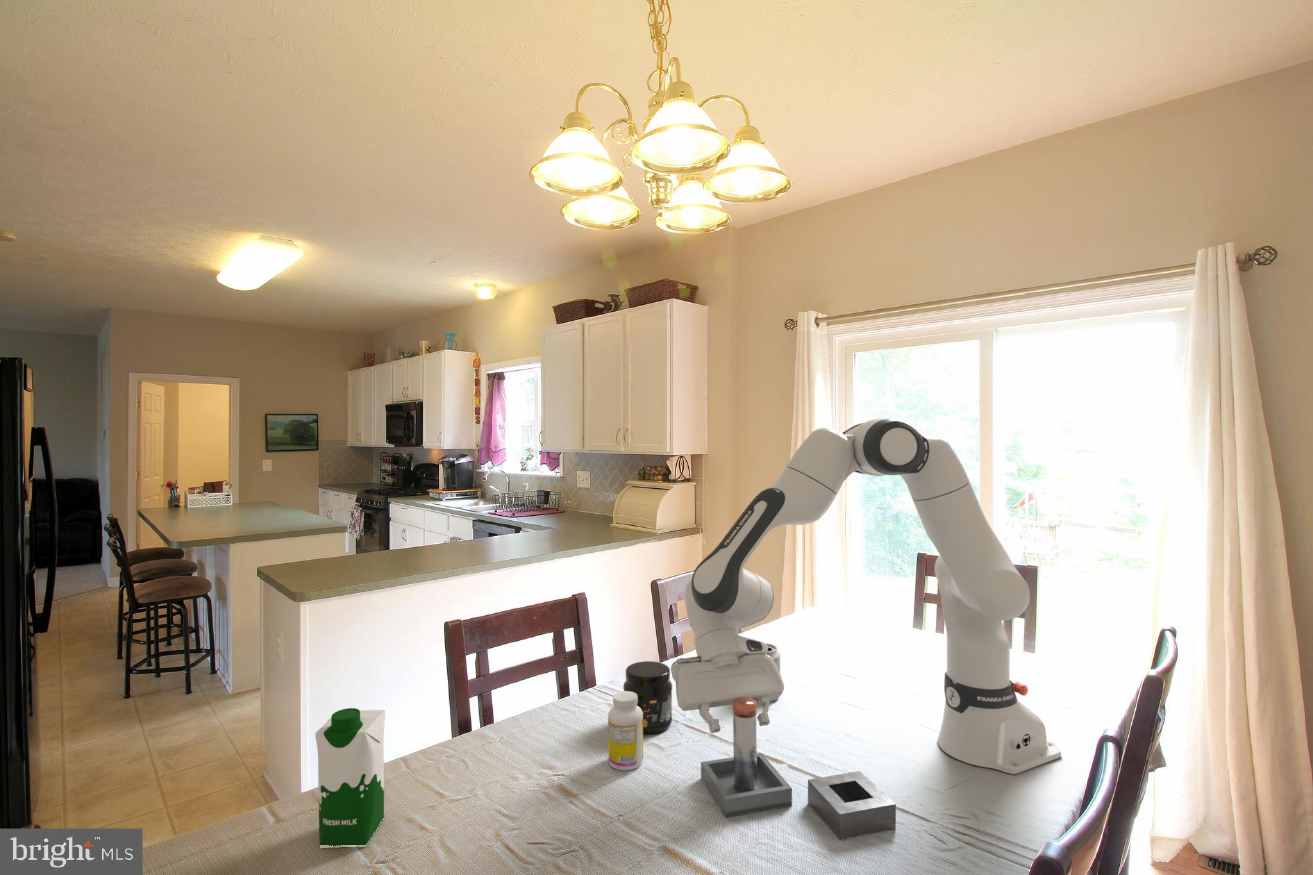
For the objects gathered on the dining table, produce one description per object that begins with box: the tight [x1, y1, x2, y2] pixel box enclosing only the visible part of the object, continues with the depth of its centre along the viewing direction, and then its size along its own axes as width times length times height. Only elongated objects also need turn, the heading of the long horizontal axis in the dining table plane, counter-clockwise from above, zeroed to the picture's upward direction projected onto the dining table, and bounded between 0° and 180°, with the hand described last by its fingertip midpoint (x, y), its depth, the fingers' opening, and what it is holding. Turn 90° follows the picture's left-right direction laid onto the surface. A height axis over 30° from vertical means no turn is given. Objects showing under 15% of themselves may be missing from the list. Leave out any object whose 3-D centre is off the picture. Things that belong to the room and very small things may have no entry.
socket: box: [807, 770, 897, 841], centre depth 104 cm, size 10×10×4 cm
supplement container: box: [622, 660, 673, 735], centre depth 136 cm, size 10×10×12 cm
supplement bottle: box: [607, 690, 644, 771], centre depth 121 cm, size 7×7×13 cm
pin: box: [732, 697, 758, 793], centre depth 111 cm, size 4×4×15 cm
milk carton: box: [314, 707, 386, 846], centre depth 100 cm, size 9×9×20 cm
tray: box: [700, 752, 793, 818], centre depth 111 cm, size 12×12×3 cm
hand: (740, 728), depth 112 cm, fingers open, 8 cm apart
